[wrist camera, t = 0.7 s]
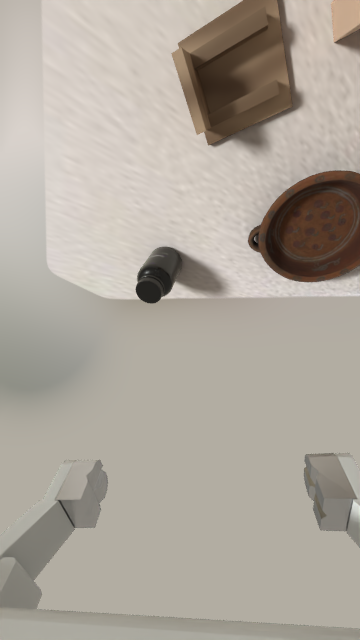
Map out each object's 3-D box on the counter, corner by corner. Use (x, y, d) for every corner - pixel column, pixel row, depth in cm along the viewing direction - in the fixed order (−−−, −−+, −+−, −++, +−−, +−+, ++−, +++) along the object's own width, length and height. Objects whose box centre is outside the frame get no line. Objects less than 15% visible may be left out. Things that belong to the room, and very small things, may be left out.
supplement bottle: (164, 238, 53) (145, 267, 44) (189, 262, 55) (176, 294, 46) (143, 259, 57) (122, 290, 48) (167, 281, 59) (151, 314, 50)
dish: (241, 184, 45) (240, 191, 41) (404, 145, 37) (420, 150, 34) (253, 276, 54) (253, 290, 51) (383, 260, 47) (395, 274, 43)
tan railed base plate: (179, 44, 36) (161, 31, 29) (273, -17, 31) (279, -50, 24) (209, 144, 42) (200, 153, 35) (291, 106, 37) (299, 107, 30)
